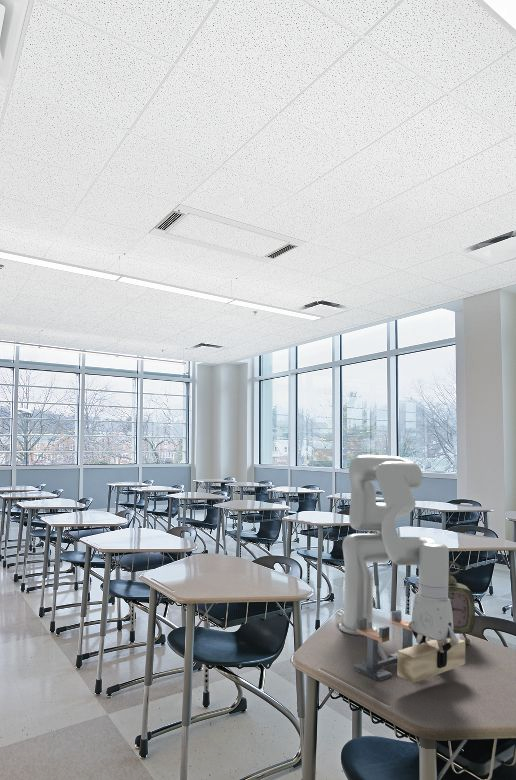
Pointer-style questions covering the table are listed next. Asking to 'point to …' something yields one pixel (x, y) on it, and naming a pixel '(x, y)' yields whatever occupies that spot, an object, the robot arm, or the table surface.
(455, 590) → the tabletop clock
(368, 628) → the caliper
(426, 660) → the rail
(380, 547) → the robot arm
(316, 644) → the table surface
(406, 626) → the grey support stand
